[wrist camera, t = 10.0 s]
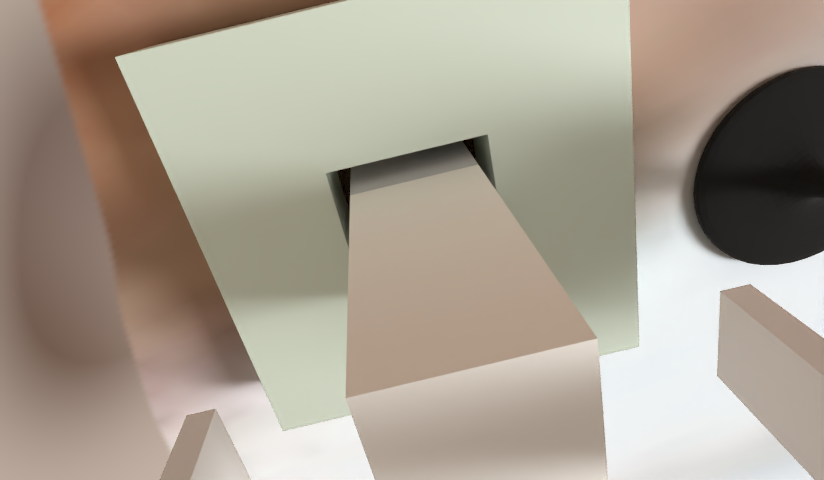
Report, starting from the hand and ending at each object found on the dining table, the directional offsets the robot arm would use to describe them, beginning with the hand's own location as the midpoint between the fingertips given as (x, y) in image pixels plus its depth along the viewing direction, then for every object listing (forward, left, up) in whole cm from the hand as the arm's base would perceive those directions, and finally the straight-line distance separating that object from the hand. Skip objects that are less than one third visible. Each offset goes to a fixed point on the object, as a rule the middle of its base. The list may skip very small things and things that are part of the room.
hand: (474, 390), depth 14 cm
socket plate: (0, 0, -14) cm, 13 cm away
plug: (0, 0, -14) cm, 14 cm away
